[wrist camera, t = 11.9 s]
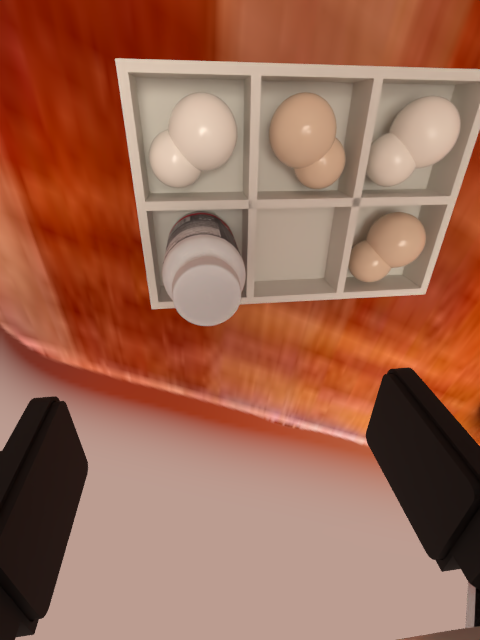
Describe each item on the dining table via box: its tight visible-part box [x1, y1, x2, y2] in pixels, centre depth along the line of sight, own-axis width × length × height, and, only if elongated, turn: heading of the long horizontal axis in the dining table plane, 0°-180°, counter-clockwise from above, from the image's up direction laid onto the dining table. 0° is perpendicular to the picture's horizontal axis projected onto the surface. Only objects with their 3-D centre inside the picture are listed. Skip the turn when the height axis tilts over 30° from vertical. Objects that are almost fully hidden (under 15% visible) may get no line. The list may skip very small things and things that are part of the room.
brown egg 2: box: [348, 212, 426, 282], centre depth 28 cm, size 6×4×4 cm
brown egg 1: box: [269, 92, 346, 189], centre depth 23 cm, size 6×4×4 cm
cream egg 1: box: [149, 92, 237, 188], centre depth 22 cm, size 6×4×4 cm
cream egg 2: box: [366, 96, 461, 187], centre depth 24 cm, size 6×4×4 cm
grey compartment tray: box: [115, 58, 480, 309], centre depth 25 cm, size 23×16×4 cm
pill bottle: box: [162, 211, 246, 326], centre depth 23 cm, size 5×5×10 cm
